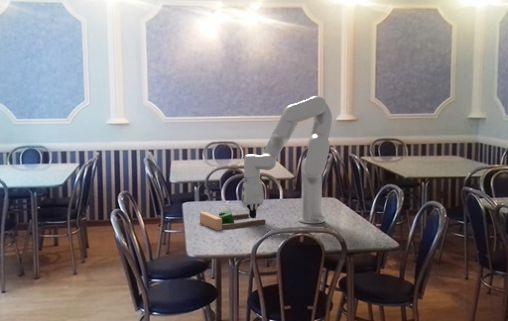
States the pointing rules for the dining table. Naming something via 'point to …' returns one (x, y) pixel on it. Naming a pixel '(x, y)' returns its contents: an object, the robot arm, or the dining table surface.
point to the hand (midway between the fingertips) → (252, 217)
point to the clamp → (226, 217)
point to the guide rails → (242, 224)
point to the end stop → (211, 220)
